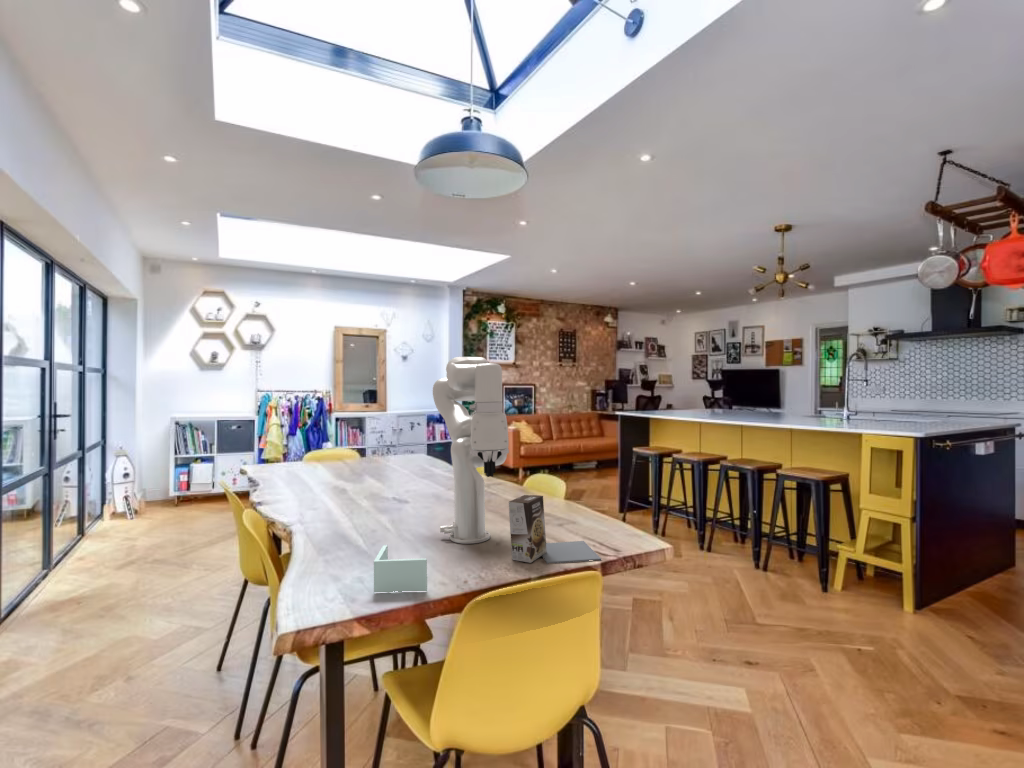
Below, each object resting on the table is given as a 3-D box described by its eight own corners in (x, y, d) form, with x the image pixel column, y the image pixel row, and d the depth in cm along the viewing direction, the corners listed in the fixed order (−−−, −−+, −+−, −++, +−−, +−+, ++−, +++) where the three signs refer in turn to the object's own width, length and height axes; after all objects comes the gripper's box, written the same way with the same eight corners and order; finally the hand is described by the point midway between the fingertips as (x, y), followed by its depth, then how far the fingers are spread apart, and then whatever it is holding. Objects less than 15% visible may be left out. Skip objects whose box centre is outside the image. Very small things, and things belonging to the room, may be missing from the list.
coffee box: (531, 563, 134) (527, 502, 134) (511, 560, 138) (507, 501, 138) (547, 552, 142) (544, 495, 142) (528, 549, 145) (524, 493, 145)
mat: (547, 564, 135) (547, 562, 135) (535, 545, 150) (534, 543, 150) (601, 560, 137) (601, 558, 137) (583, 542, 153) (583, 540, 153)
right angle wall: (426, 592, 117) (426, 559, 117) (374, 594, 116) (373, 561, 116) (431, 573, 129) (431, 543, 129) (383, 574, 128) (383, 545, 128)
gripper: (462, 409, 133) (463, 479, 133) (518, 408, 136) (519, 477, 135) (460, 408, 141) (461, 474, 141) (513, 407, 143) (514, 472, 143)
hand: (489, 475), depth 138 cm, fingers closed
